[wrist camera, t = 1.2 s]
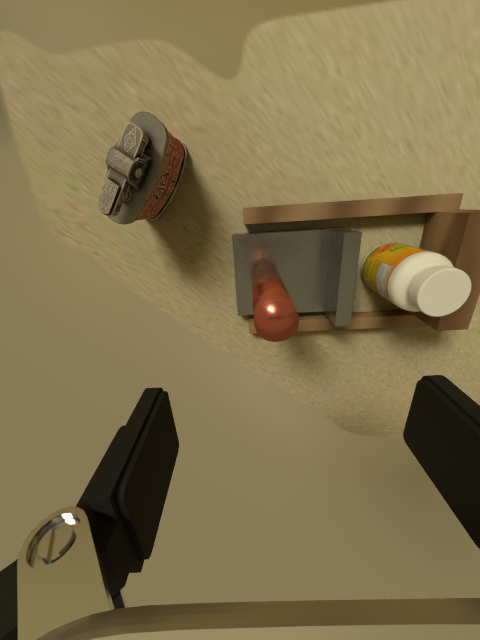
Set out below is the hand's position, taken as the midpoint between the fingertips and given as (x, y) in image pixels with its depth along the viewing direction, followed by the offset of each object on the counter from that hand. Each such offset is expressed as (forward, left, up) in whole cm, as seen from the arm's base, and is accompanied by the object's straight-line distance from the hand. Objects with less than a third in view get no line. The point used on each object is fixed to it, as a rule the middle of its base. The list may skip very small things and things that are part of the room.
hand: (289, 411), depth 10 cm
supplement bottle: (-14, 0, -22) cm, 26 cm away
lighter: (+10, -10, -22) cm, 26 cm away
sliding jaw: (-3, 0, -21) cm, 21 cm away
